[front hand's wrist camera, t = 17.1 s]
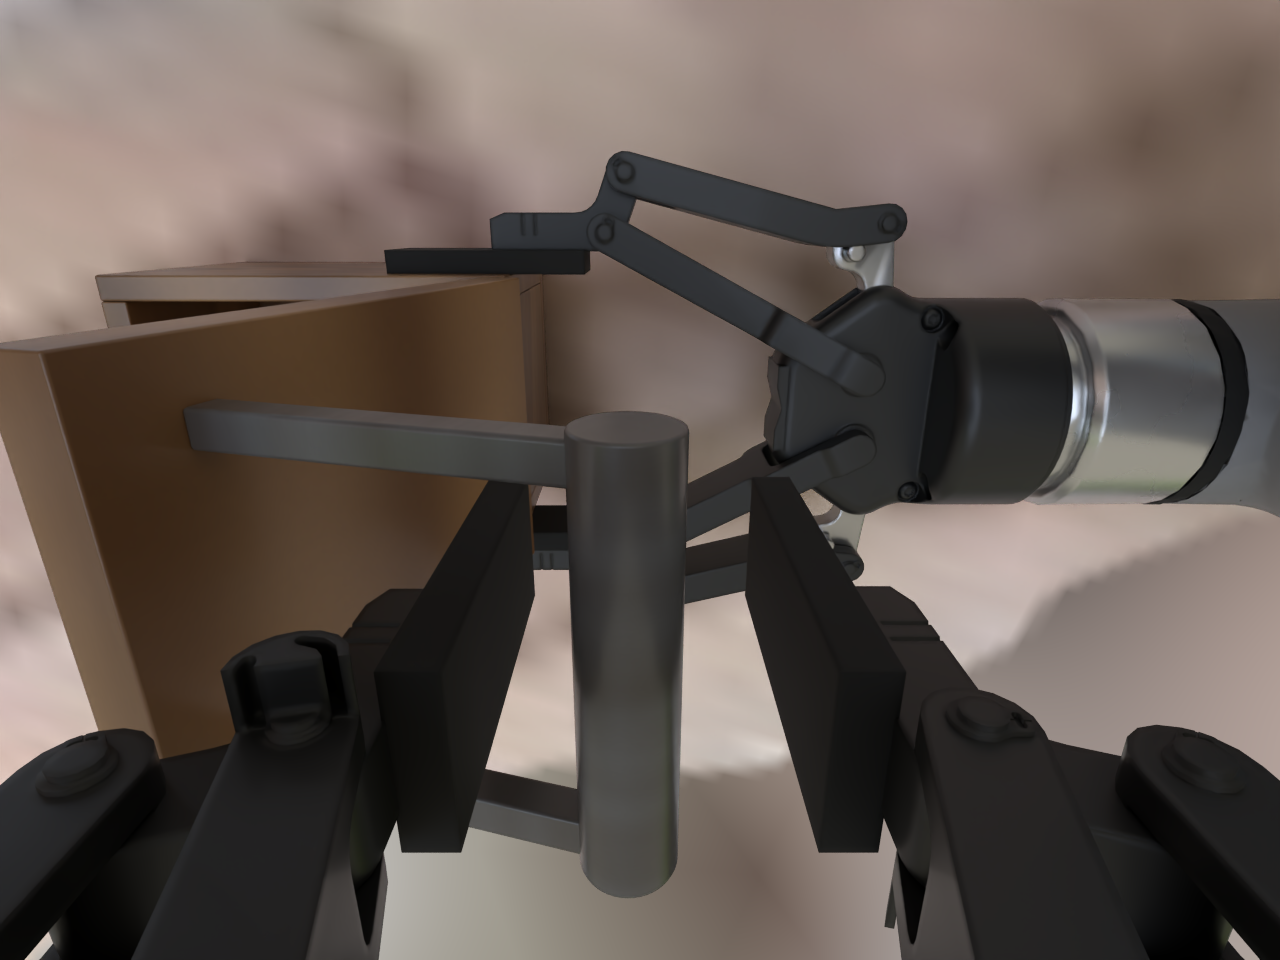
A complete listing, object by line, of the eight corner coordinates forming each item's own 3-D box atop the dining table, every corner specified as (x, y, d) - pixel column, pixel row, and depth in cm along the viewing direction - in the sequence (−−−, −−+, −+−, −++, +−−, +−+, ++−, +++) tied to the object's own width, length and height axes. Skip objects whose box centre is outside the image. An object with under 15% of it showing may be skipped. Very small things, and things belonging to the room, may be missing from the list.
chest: (280, 464, 33) (162, 543, 25) (243, 262, 30) (92, 275, 22) (551, 464, 33) (522, 543, 25) (542, 262, 30) (505, 275, 22)
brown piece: (148, 885, 12) (643, 1038, 10) (-31, 345, 9) (647, 388, 7) (504, 548, 25) (756, 581, 22) (483, 276, 21) (776, 282, 19)
